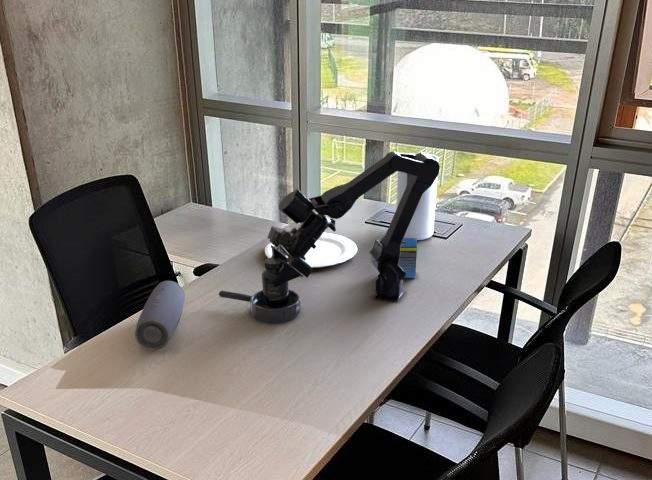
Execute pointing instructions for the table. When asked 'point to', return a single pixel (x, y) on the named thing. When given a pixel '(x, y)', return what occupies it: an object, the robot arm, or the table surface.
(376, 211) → the table surface
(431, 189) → the cylinder vase
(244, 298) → the pan handle
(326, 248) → the plate
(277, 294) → the supplement bottle
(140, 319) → the bluetooth speaker
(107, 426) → the table surface
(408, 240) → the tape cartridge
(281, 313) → the pan
